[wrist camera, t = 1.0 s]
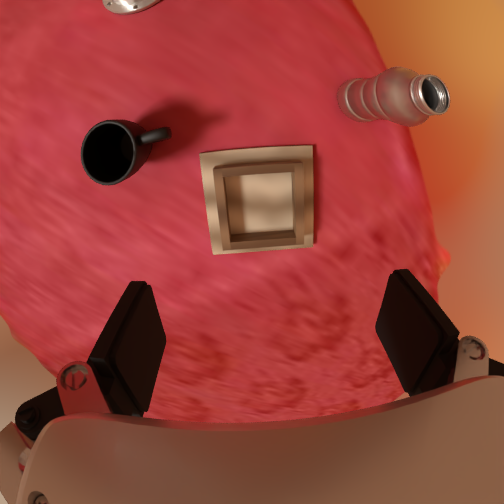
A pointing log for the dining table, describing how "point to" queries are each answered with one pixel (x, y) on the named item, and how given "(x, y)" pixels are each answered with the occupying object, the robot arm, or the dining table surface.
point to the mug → (118, 149)
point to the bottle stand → (259, 198)
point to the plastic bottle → (394, 97)
